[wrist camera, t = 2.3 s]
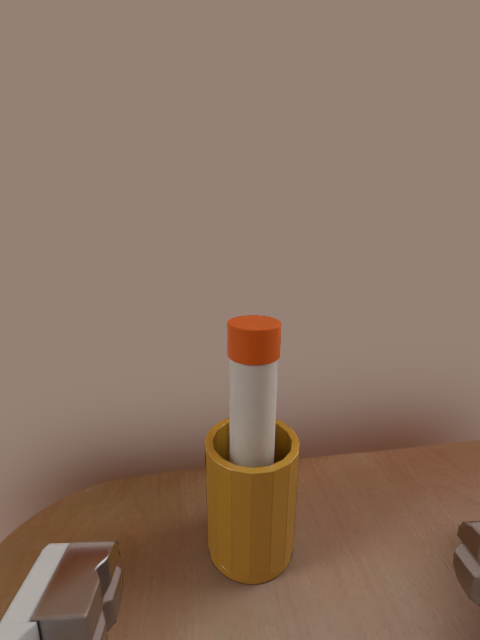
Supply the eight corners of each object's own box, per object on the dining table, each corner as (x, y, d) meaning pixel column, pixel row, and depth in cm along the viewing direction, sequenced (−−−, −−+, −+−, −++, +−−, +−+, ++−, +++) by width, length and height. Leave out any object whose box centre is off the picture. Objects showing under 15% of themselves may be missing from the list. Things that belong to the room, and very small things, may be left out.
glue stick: (219, 538, 22) (216, 323, 18) (244, 508, 25) (247, 312, 21) (257, 564, 21) (263, 333, 16) (280, 529, 23) (290, 320, 19)
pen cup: (189, 550, 22) (185, 446, 20) (240, 494, 27) (240, 405, 24) (264, 605, 19) (268, 489, 17) (307, 532, 23) (314, 433, 21)
